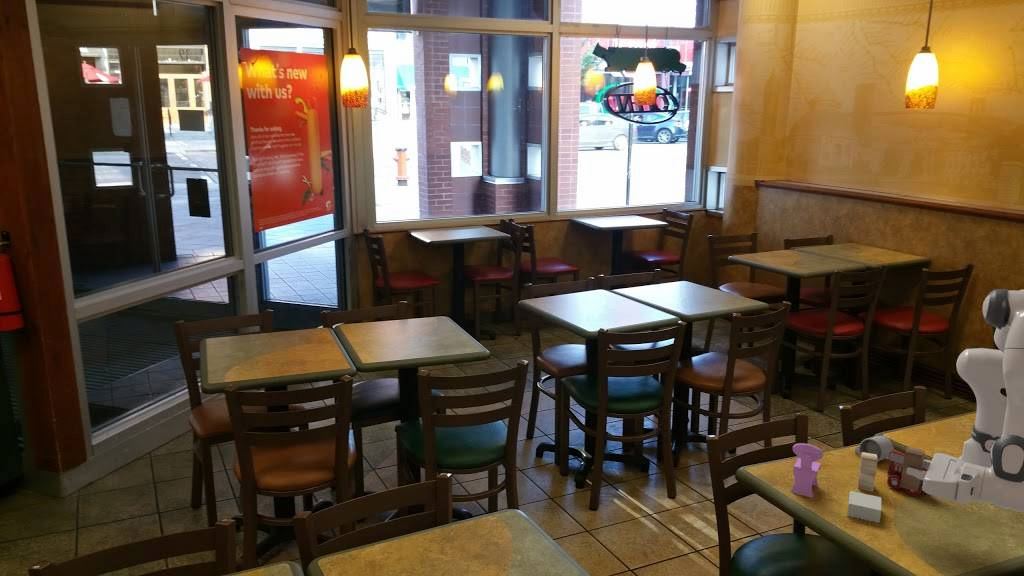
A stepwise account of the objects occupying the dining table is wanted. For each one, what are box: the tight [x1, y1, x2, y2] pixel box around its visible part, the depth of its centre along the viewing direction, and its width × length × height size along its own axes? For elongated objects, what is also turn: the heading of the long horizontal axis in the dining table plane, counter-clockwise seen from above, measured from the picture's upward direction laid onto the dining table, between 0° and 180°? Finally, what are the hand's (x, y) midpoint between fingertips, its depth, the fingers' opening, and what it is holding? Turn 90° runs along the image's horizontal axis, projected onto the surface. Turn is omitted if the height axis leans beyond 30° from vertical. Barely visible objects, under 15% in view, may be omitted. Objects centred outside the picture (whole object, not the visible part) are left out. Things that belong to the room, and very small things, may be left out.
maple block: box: [857, 452, 878, 493], centre depth 225 cm, size 4×4×10 cm
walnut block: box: [900, 446, 925, 491], centre depth 202 cm, size 4×4×10 cm
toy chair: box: [789, 442, 824, 499], centre depth 223 cm, size 8×9×15 cm
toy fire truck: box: [886, 449, 927, 497], centre depth 225 cm, size 7×12×10 cm, turn 44°
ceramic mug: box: [854, 435, 894, 463], centre depth 245 cm, size 11×8×8 cm
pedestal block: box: [846, 490, 882, 524], centre depth 211 cm, size 8×8×4 cm
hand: (908, 465), depth 203 cm, fingers closed on walnut block, 4 cm apart
